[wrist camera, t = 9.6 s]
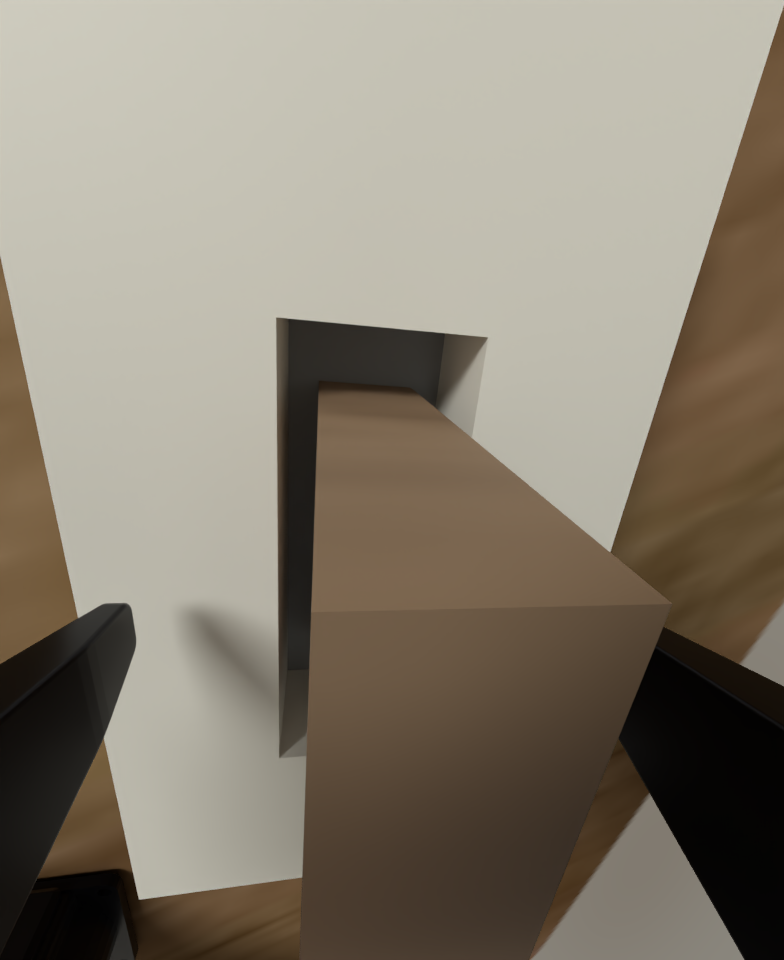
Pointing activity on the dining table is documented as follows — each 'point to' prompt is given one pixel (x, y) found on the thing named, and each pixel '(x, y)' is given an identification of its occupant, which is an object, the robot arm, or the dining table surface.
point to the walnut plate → (450, 688)
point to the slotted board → (330, 314)
